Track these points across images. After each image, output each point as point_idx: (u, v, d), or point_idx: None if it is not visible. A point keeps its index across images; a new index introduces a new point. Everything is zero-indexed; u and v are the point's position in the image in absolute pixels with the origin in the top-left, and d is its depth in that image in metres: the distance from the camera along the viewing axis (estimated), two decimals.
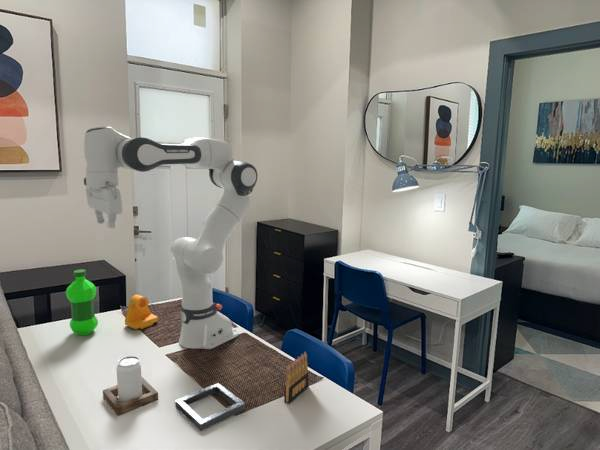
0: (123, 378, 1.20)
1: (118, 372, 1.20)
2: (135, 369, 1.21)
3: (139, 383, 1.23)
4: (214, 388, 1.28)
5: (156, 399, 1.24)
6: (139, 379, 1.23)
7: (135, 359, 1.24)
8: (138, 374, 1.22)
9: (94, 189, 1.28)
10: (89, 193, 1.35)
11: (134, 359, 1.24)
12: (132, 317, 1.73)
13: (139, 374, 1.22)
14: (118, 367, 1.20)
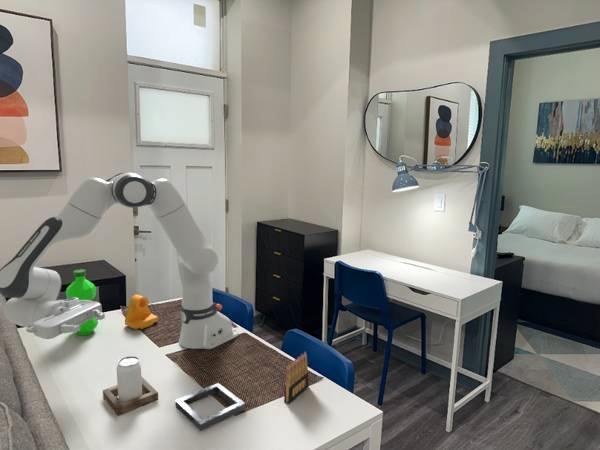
0: (123, 378, 1.20)
1: (118, 372, 1.20)
2: (135, 369, 1.21)
3: (139, 383, 1.23)
4: (214, 388, 1.28)
5: (156, 399, 1.24)
6: (139, 379, 1.23)
7: (135, 359, 1.24)
8: (138, 374, 1.22)
9: None
10: None
11: (134, 359, 1.24)
12: (132, 317, 1.73)
13: (139, 374, 1.22)
14: (118, 367, 1.20)
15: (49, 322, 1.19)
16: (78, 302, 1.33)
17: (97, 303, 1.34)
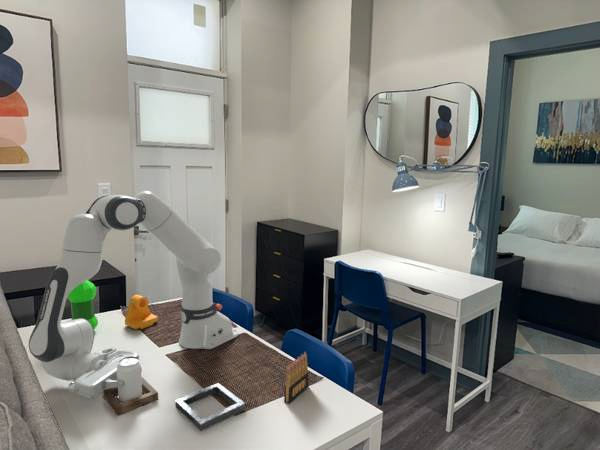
0: (123, 378, 1.20)
1: (118, 372, 1.20)
2: (135, 369, 1.21)
3: (139, 383, 1.23)
4: (214, 388, 1.28)
5: (156, 399, 1.24)
6: (139, 379, 1.23)
7: (135, 359, 1.24)
8: (138, 374, 1.22)
9: None
10: None
11: (134, 359, 1.24)
12: (132, 317, 1.73)
13: (139, 374, 1.22)
14: (118, 367, 1.20)
15: (91, 379, 1.18)
16: (116, 353, 1.32)
17: (135, 354, 1.33)
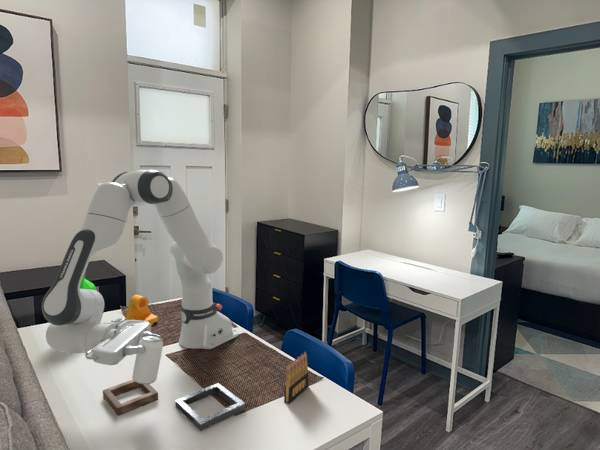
0: (147, 354, 1.15)
1: None
2: (160, 346, 1.17)
3: (159, 362, 1.18)
4: (214, 388, 1.28)
5: (156, 399, 1.24)
6: (160, 358, 1.18)
7: (157, 337, 1.20)
8: (160, 352, 1.18)
9: None
10: None
11: (156, 337, 1.20)
12: (132, 317, 1.73)
13: (161, 352, 1.19)
14: (143, 342, 1.16)
15: (110, 347, 1.12)
16: (126, 323, 1.26)
17: (146, 322, 1.27)
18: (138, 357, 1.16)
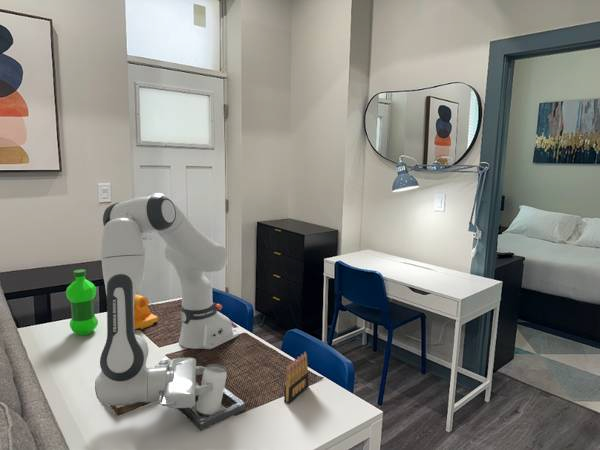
0: (217, 385, 1.16)
1: (212, 379, 1.15)
2: (226, 376, 1.18)
3: None
4: None
5: None
6: None
7: (218, 366, 1.20)
8: None
9: None
10: None
11: (217, 366, 1.20)
12: None
13: None
14: (211, 374, 1.16)
15: (183, 389, 1.10)
16: (173, 362, 1.23)
17: (192, 358, 1.26)
18: None
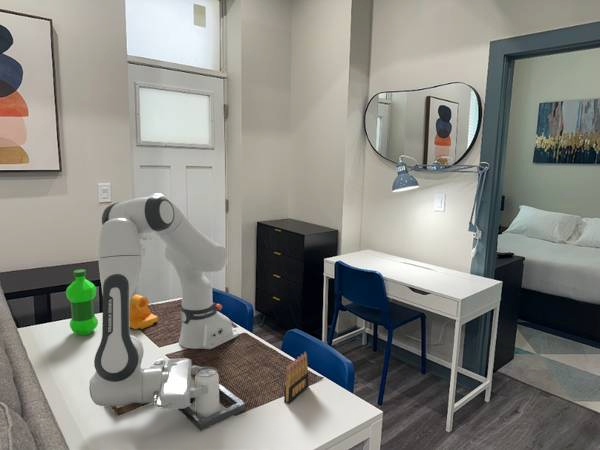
0: (210, 389, 1.15)
1: (203, 384, 1.14)
2: (218, 377, 1.17)
3: None
4: None
5: None
6: None
7: (209, 369, 1.19)
8: None
9: None
10: None
11: (208, 369, 1.19)
12: (132, 317, 1.73)
13: None
14: (202, 379, 1.14)
15: (178, 390, 1.10)
16: (168, 363, 1.23)
17: (187, 359, 1.26)
18: (201, 394, 1.15)
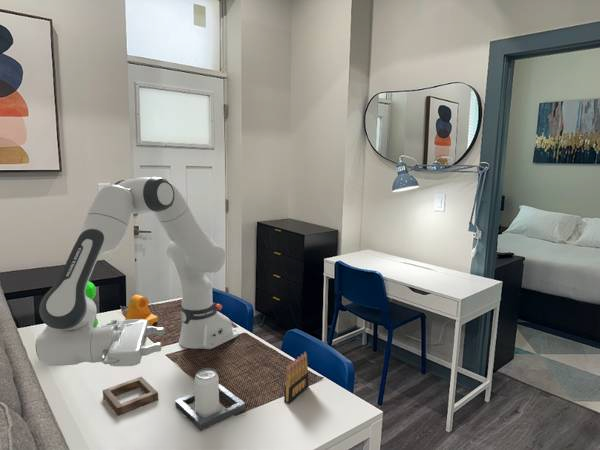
0: (210, 391, 1.14)
1: (203, 386, 1.14)
2: None
3: None
4: None
5: (156, 399, 1.24)
6: None
7: (209, 370, 1.19)
8: (218, 383, 1.18)
9: None
10: None
11: (208, 370, 1.18)
12: (132, 317, 1.73)
13: None
14: (202, 381, 1.14)
15: (128, 347, 1.05)
16: (123, 323, 1.18)
17: (143, 320, 1.21)
18: (200, 396, 1.14)
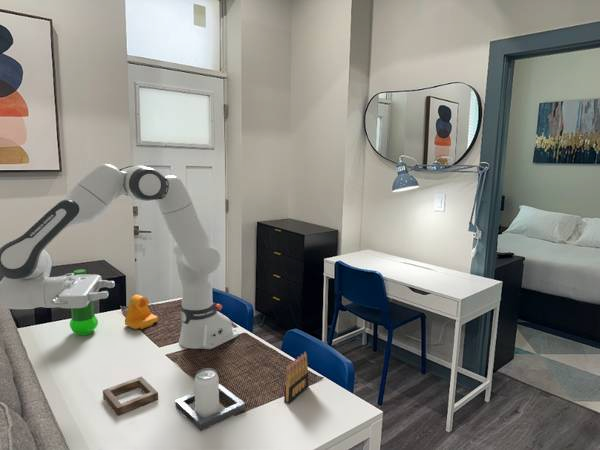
0: (210, 391, 1.14)
1: (203, 386, 1.14)
2: None
3: None
4: None
5: (156, 399, 1.24)
6: None
7: (208, 370, 1.19)
8: (218, 383, 1.18)
9: None
10: None
11: (208, 370, 1.18)
12: (132, 317, 1.73)
13: None
14: (202, 381, 1.14)
15: (76, 292, 1.20)
16: (77, 276, 1.32)
17: (97, 275, 1.35)
18: (200, 397, 1.14)
